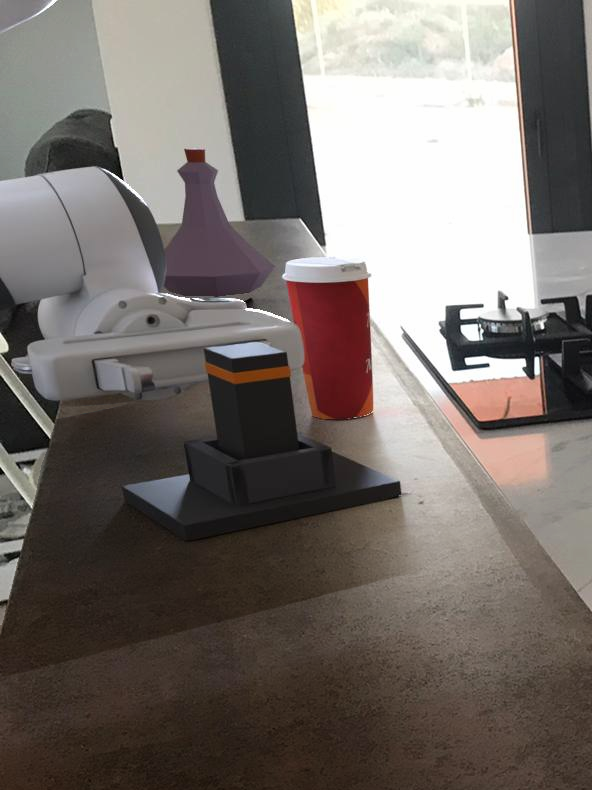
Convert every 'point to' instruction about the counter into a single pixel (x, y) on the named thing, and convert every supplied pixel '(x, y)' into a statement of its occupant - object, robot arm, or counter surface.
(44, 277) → the robot arm
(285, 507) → the base pad
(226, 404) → the black block
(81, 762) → the counter surface
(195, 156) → the flask
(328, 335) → the paper cup
